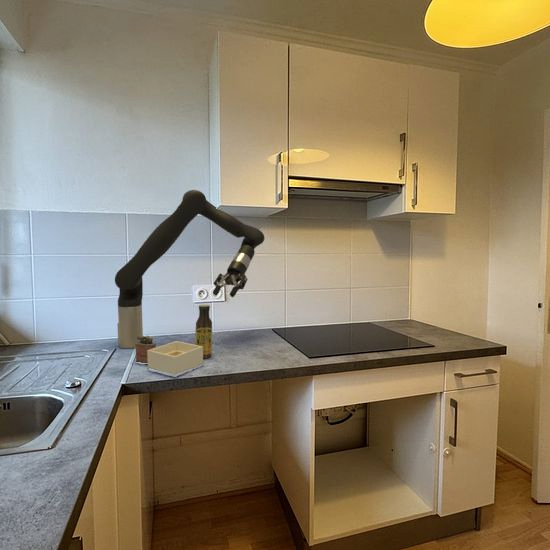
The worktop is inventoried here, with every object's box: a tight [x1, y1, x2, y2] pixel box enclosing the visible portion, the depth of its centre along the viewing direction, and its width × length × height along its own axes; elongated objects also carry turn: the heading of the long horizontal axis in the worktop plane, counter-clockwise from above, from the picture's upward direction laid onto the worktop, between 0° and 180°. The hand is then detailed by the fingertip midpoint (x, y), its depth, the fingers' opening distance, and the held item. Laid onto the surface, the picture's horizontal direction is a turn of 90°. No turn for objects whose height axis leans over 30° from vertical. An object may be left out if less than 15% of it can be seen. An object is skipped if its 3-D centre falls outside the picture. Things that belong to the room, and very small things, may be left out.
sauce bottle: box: [194, 304, 213, 359], centre depth 127 cm, size 7×6×20 cm
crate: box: [147, 340, 204, 375], centre depth 115 cm, size 13×13×7 cm
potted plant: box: [135, 335, 157, 363], centre depth 120 cm, size 8×3×10 cm, turn 74°
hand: (222, 295), depth 136 cm, fingers open, 8 cm apart
